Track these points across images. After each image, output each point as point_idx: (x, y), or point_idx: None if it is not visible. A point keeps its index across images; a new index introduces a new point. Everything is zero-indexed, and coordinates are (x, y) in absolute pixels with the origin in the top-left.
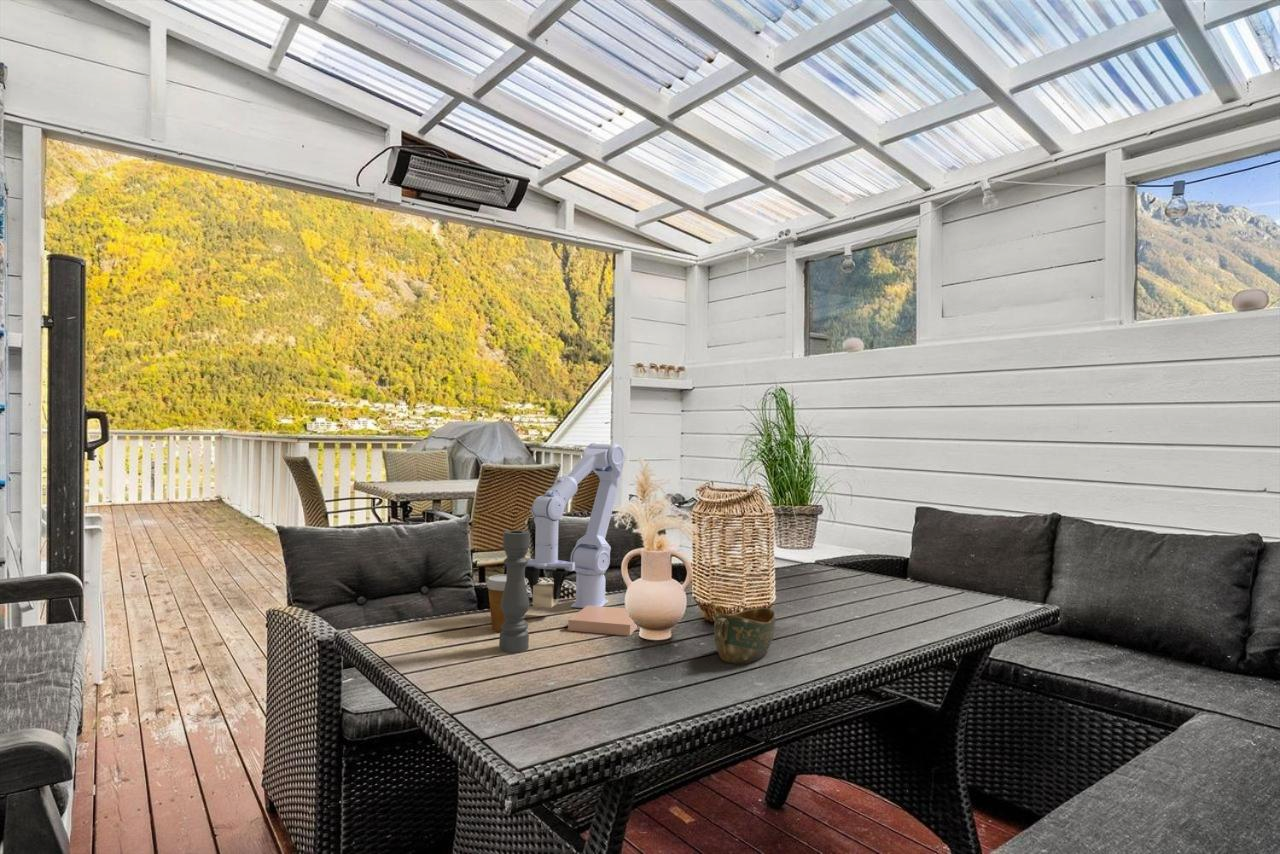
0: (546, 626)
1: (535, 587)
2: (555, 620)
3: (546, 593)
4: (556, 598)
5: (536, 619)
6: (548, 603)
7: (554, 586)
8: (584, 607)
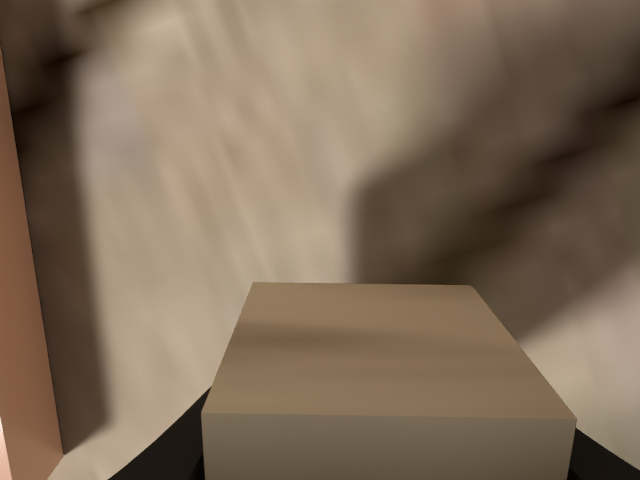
0: (231, 31)
1: (516, 403)
2: (233, 248)
3: (309, 353)
4: (208, 389)
5: (398, 232)
6: (286, 298)
7: (179, 470)
8: (5, 446)
